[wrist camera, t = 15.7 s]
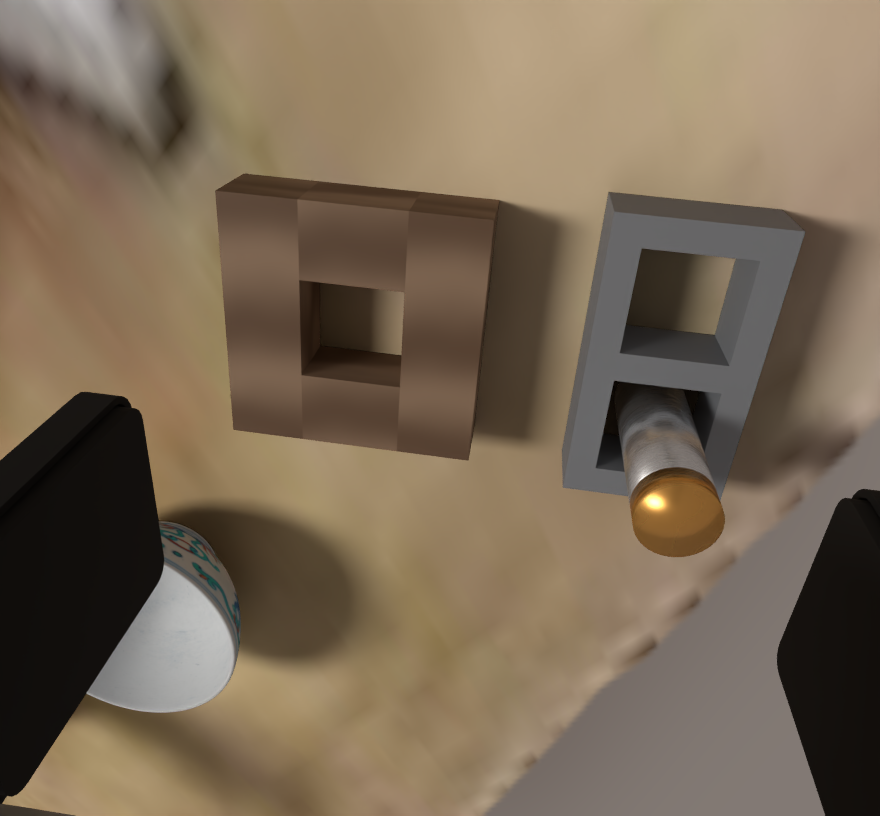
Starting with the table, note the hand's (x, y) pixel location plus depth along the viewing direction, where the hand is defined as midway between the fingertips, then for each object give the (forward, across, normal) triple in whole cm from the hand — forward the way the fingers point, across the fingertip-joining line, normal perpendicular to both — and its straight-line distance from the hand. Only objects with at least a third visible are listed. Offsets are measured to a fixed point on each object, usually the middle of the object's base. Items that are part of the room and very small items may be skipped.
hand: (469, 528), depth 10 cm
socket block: (+32, +8, +11) cm, 35 cm away
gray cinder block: (+32, -9, +11) cm, 35 cm away
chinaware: (+32, +22, +32) cm, 51 cm away
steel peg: (+32, -9, +14) cm, 36 cm away
